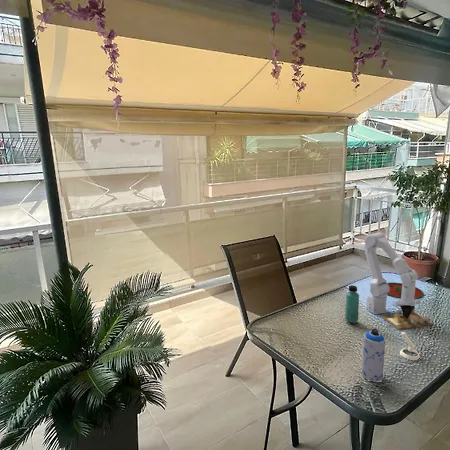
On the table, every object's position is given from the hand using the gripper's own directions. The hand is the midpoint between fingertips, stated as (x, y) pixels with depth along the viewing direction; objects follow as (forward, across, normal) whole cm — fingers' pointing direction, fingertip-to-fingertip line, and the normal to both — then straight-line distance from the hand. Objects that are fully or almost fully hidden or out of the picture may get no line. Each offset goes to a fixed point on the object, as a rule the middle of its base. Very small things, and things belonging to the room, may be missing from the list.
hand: (405, 317), depth 159 cm
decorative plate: (+3, +25, +33) cm, 41 cm away
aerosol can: (+2, -44, -33) cm, 55 cm away
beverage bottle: (+2, -27, +6) cm, 28 cm away
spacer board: (+2, +1, 0) cm, 2 cm away
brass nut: (+1, -4, 0) cm, 4 cm away
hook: (+2, -20, -25) cm, 32 cm away
